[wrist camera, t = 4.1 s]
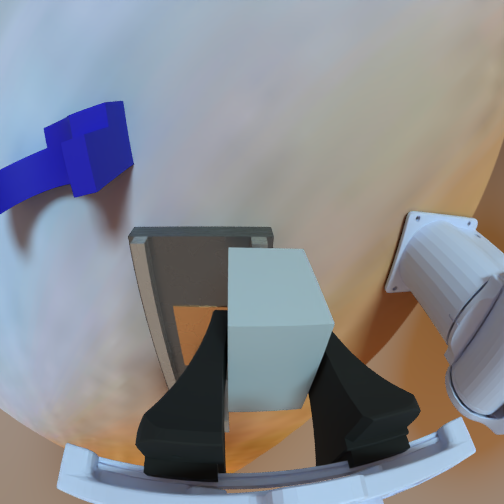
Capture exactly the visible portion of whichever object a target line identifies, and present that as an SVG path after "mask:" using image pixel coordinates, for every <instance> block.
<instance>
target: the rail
mask: <svg viewBox="0 0 504 504" xmlns="http://www.w3.org/2000/svg"><path fill="white" fill-rule="evenodd" d="M128 239H129V245H130V250H131V255H132V260H133V265H134V270H135V275H136V279H137V284H138V288H139V292H140V296H141V300H142V304H143V308H144V312H145V316H146V320H147V323H148V327H149V330H150V334H151V337H152V341H153V344H154V347H155V350H156V354H157V357H158V360H159V363H160V366H161V369H162V372H163V375H164V378H165V381H166V383H167V386H168V389H170V388H171V387H172V386H173V385H174V384H175V382H176V381H177V380H178V379H179V377H180V376H181V375H182V373H183V372H184V371H185V369H186V368H187V366H188V365H189V363H190V362H191V360H192V358H193V357H194V355H195V353H196V351H197V350H198V348H199V346H200V344H201V342H202V340H203V338H204V336H205V333H206V331H207V329H208V326H209V324H210V321H211V317H212V313H213V311H214V310H228V249H229V247H232V248H273V239H274V236H273V233H272V229H271V227H134V229H133V230H132V231H131V233H130V234H129V236H128ZM226 380H228V364H227V374H226Z"/></svg>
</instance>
